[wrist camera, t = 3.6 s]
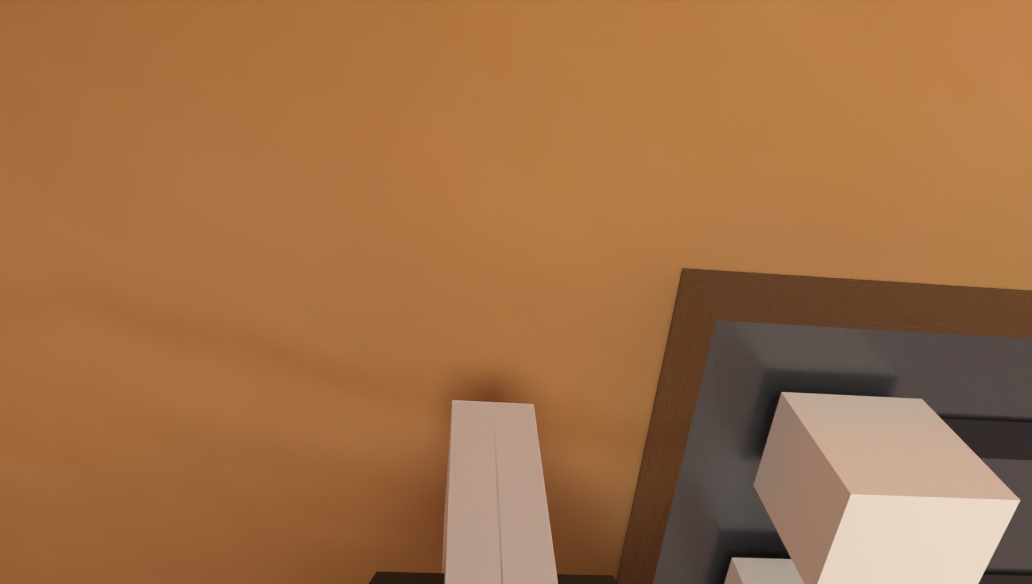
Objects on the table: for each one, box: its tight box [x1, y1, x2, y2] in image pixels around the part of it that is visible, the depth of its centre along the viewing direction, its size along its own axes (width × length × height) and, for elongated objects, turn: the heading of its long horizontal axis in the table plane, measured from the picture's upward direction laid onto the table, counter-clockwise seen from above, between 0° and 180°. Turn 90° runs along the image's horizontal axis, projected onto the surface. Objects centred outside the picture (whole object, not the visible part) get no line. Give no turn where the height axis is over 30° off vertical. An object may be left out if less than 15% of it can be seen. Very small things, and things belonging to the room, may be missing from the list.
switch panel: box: [617, 269, 1032, 584], centre depth 19 cm, size 14×18×3 cm
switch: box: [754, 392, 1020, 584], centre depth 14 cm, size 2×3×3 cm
